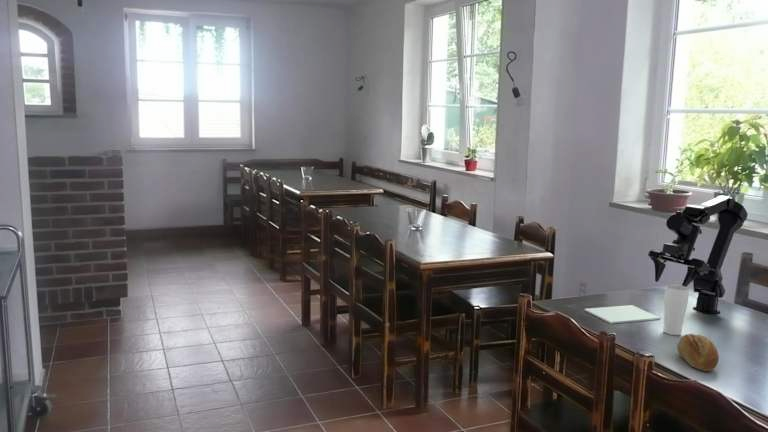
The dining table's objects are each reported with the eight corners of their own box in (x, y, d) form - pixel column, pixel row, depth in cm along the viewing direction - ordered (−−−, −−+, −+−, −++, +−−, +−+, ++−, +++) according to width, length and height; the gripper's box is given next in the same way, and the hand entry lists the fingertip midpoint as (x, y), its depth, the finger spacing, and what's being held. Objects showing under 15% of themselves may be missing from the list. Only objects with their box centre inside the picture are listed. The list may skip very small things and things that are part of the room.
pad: (631, 306, 232) (631, 305, 232) (660, 319, 219) (660, 317, 219) (584, 310, 226) (584, 308, 226) (610, 323, 213) (610, 322, 213)
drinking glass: (679, 330, 209) (685, 285, 207) (686, 337, 203) (692, 291, 200) (657, 328, 210) (662, 283, 207) (664, 336, 203) (669, 289, 201)
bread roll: (688, 373, 175) (691, 345, 173) (668, 352, 190) (671, 326, 188) (725, 376, 174) (729, 347, 173) (702, 354, 189) (706, 328, 188)
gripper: (648, 227, 217) (632, 270, 216) (703, 238, 203) (685, 284, 201) (663, 239, 224) (647, 281, 223) (717, 250, 209) (700, 295, 208)
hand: (669, 285), depth 213 cm, fingers open, 9 cm apart
